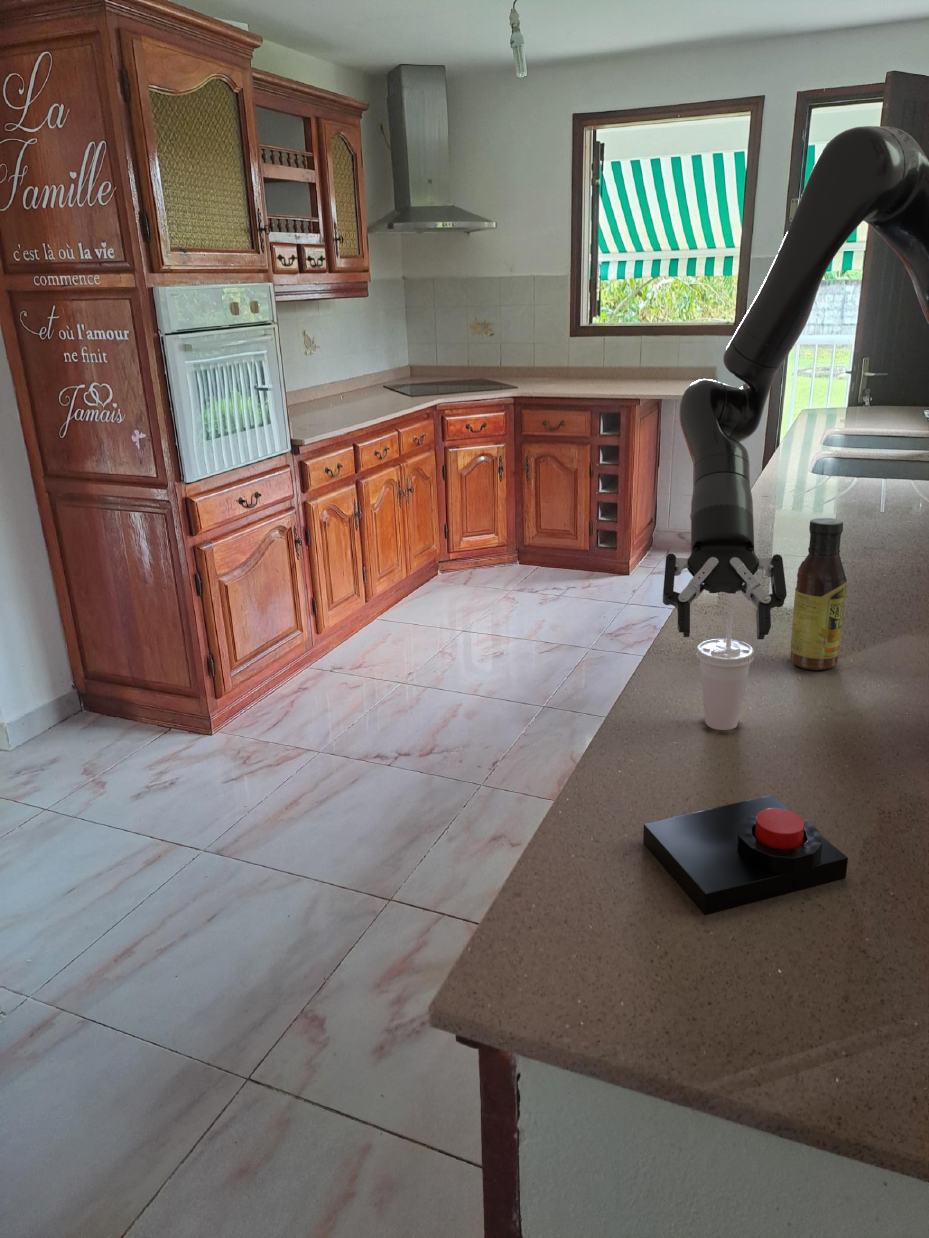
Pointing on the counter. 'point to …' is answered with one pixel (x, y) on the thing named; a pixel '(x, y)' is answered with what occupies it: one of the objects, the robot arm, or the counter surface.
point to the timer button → (779, 828)
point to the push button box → (738, 856)
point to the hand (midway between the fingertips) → (723, 635)
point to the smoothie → (724, 678)
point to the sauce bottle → (819, 599)
